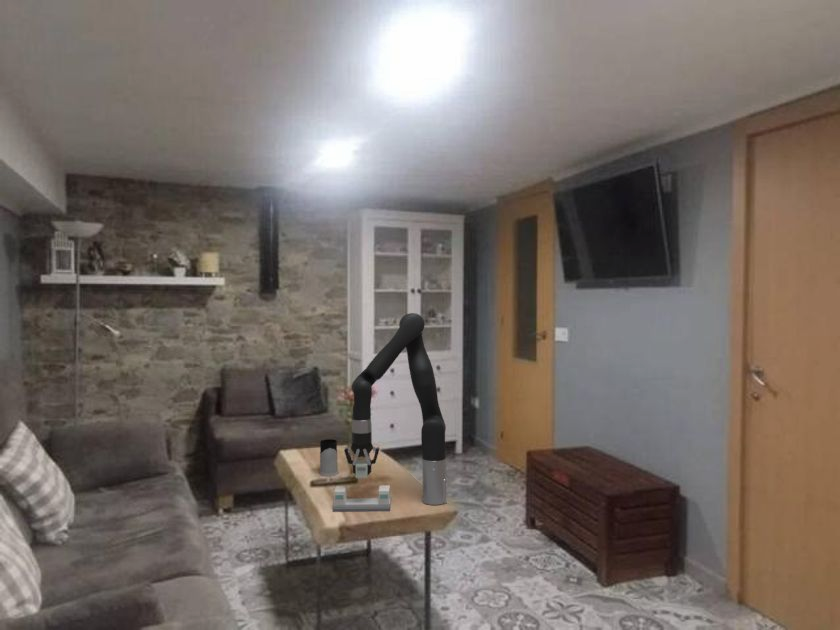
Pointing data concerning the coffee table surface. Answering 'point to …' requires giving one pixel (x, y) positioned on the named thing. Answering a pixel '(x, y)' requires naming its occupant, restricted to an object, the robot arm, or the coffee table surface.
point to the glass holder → (328, 457)
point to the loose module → (361, 469)
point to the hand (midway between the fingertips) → (362, 474)
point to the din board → (361, 501)
